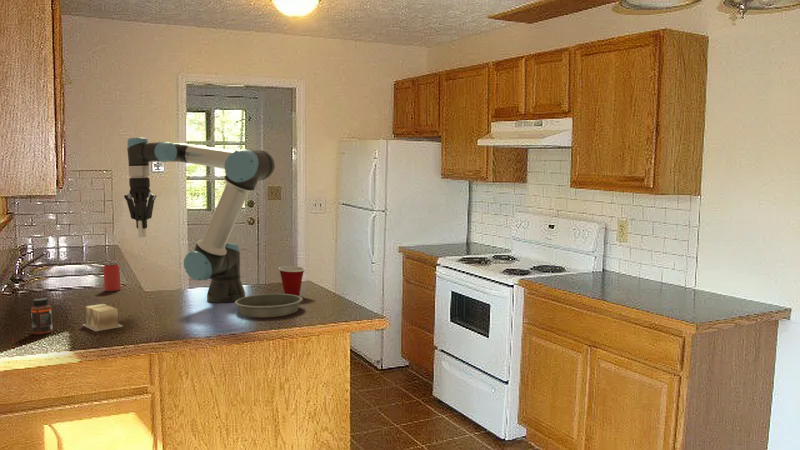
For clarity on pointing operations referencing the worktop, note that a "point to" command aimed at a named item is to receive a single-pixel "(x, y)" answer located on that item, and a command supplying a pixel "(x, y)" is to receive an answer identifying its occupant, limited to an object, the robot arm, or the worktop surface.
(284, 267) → the plastic cup
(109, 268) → the beer can
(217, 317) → the worktop surface
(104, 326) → the beech block
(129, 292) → the worktop surface
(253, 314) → the cake pan
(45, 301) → the supplement bottle
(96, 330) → the mat
